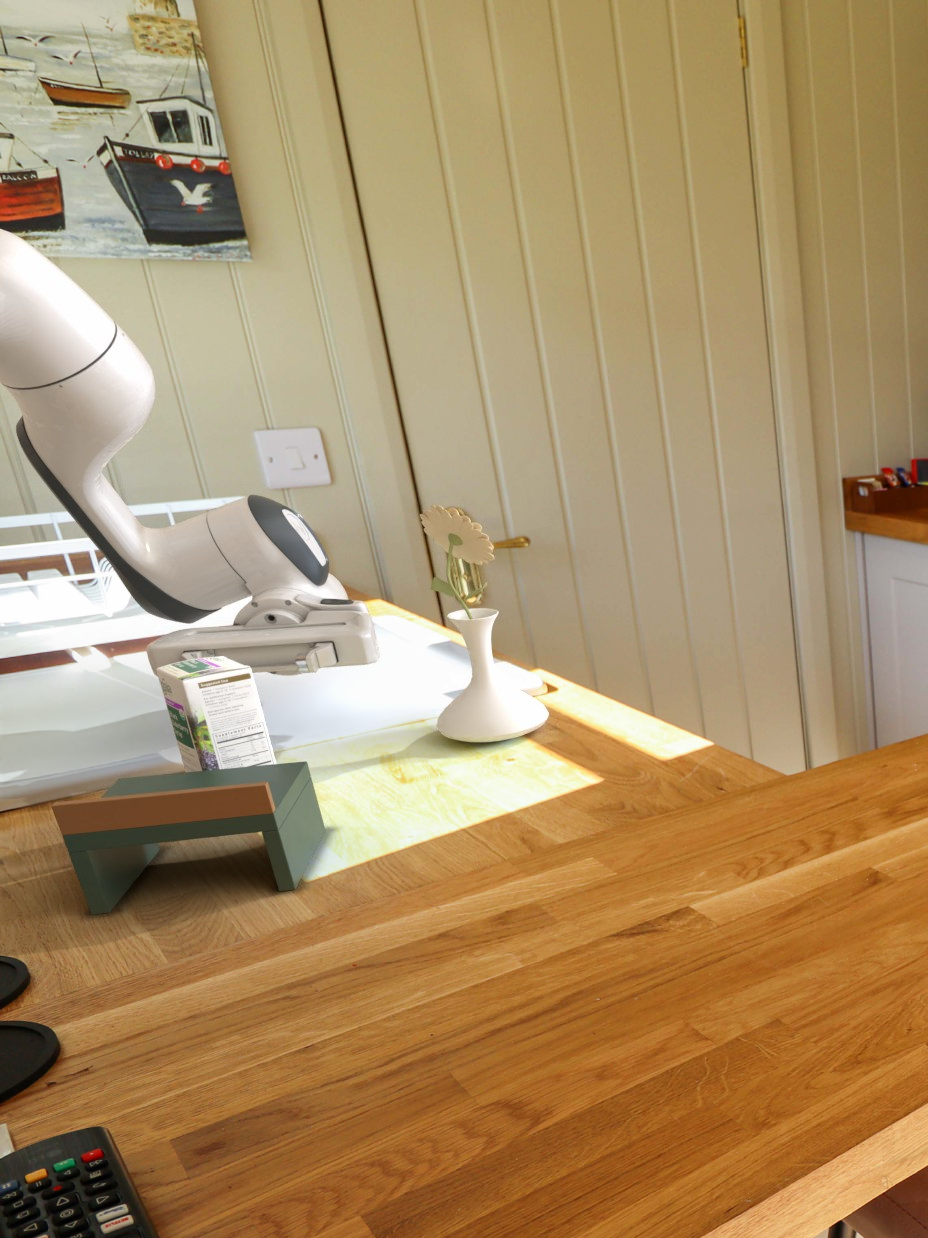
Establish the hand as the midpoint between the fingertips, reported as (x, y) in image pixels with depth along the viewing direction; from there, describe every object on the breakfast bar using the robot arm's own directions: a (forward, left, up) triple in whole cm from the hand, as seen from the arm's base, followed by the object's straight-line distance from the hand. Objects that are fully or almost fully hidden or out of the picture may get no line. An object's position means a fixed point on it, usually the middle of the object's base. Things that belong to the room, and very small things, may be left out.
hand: (250, 669), depth 116 cm
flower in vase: (+20, +5, -11) cm, 23 cm away
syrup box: (0, -12, -11) cm, 16 cm away
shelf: (+1, -25, -10) cm, 27 cm away
